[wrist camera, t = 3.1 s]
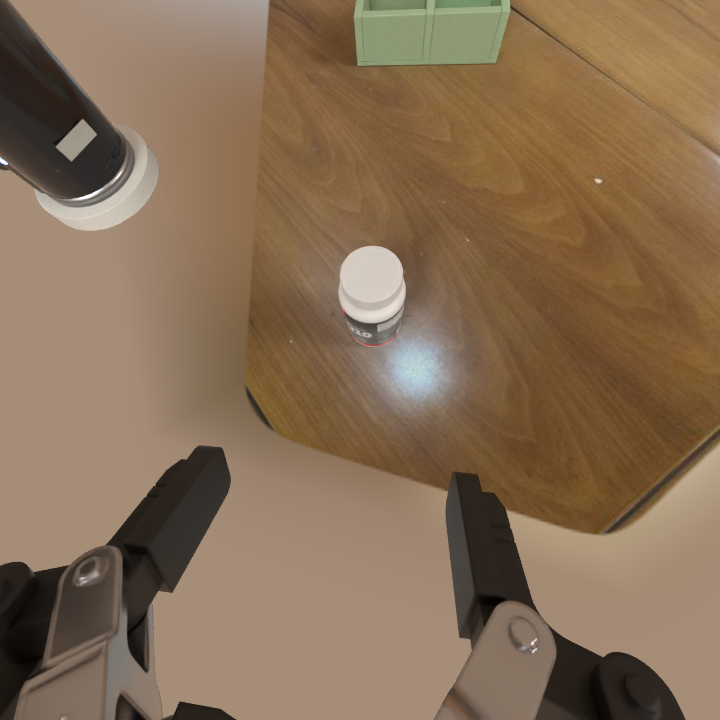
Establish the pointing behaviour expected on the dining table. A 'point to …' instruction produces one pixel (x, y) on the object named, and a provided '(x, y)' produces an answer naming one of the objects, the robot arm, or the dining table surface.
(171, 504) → the robot arm
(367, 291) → the pill bottle
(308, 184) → the dining table surface
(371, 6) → the holder
